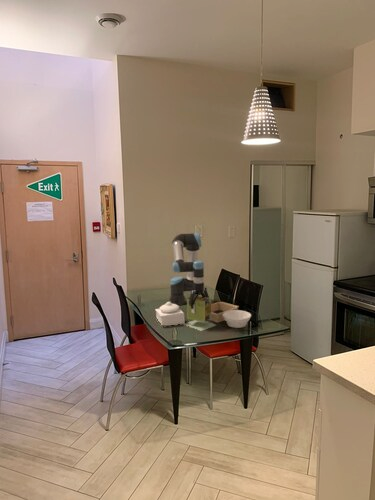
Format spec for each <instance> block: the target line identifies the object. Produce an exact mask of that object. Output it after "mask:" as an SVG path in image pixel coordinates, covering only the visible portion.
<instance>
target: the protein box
mask: <svg viewBox="0 0 375 500" xmlns="http://www.w3.org/2000/svg"><path fill="white" fill-rule="evenodd" d="M189 299H190V297H188V298H186V319H187V320H191V321H194V320H196V321H201V322H209V321H210V320H209V319H211V304H212V297H209V298H207V297H202V296H201V295H198V297H197V298H196V300H195V303H194V304H195V313H192V310H191V304H189ZM192 303H193V302H192Z"/></svg>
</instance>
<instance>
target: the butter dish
mask: <svg viewBox="0 0 375 500" xmlns="http://www.w3.org/2000/svg"><path fill="white" fill-rule="evenodd" d="M154 310H155V316H156V318H157V319H158V321H159V322H160V323H161V325H175V326H179V325H178V324H180V325H183V324H185V322H186V321H185V313H184V312H183V311H182V310H181V309H180V305H176V304H172V303H171V302H169V301H166V303H165V304H162V305H160V306H159V308H155V309H154ZM157 319H156V320H157ZM158 321H157V322H158ZM161 325H160V326H161Z"/></svg>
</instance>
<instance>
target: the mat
mask: <svg viewBox="0 0 375 500" xmlns="http://www.w3.org/2000/svg"><path fill="white" fill-rule="evenodd" d="M182 325H183V326H185V325H186V327H188V326H189V327H188V328H191V329H193V328H194V330H196V329H197V331H199V332H203V331H206V330H208V329H210V328H213V327H216V326H217V324H215V323H212V322H209V321H206V322H201V321H196V320H191V321H188V322H186V323H185V324H182Z"/></svg>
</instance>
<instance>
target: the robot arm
mask: <svg viewBox="0 0 375 500" xmlns="http://www.w3.org/2000/svg"><path fill="white" fill-rule="evenodd" d="M171 247H172V249H173V256H174V257H173V258H174V262H173V263H172V271H173V273H177V274H179V273H187V275H186V277H185V278H184V277H183V276H174V277H172V278H171V279H170V280H169V281H170V282H169V283H170V296H169V300H168V302H171V303H172V304H176V305H178V306H183V305H187V298H186V297H185V292H190V296H189V298H190V299H189V304H191V310H192V313H195V304H194V303H195V300H196V298H197V297H198V296H201V297H207V298H210V295H209V293H208V290H207V289H208V288H207V287H205V277H204V276H205V275H204V273H205V271H204V270H205V266H204V261H202V260H199V259H198V258H199V257H198V256H199V255H198V253H199V250H200V248H201V247H202V240H201V235H200V234H199V232H198V233H180V234H177V235H176V236H175V237H174V238H173V240H172V241H171ZM184 248H185V250H186V251H187V261H185V255H184ZM192 302H193V303H192Z"/></svg>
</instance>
